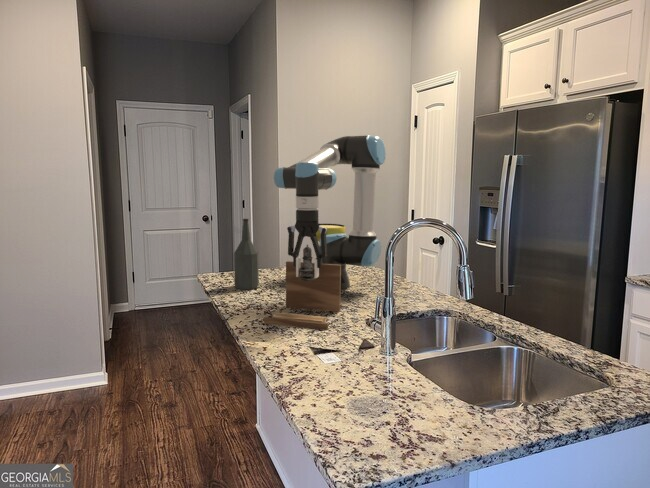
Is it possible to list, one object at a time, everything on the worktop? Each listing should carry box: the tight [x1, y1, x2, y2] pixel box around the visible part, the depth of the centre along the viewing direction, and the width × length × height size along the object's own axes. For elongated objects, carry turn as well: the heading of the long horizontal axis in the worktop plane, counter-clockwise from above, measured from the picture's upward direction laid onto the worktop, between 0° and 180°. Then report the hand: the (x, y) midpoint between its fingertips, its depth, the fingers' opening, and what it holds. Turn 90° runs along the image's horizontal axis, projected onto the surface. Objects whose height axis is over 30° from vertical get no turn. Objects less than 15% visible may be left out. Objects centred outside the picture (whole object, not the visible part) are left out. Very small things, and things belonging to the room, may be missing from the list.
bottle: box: [233, 218, 260, 291], centre depth 207 cm, size 10×10×30 cm
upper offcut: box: [271, 312, 327, 323], centre depth 158 cm, size 4×17×2 cm, turn 74°
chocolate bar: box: [308, 337, 375, 356], centre depth 142 cm, size 9×1×18 cm
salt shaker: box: [299, 244, 315, 281], centre depth 164 cm, size 6×6×12 cm
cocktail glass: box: [316, 223, 346, 243], centre depth 226 cm, size 18×18×25 cm
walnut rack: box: [263, 260, 342, 331], centre depth 163 cm, size 21×22×18 cm
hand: (307, 276), depth 165 cm, fingers closed on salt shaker, 6 cm apart
